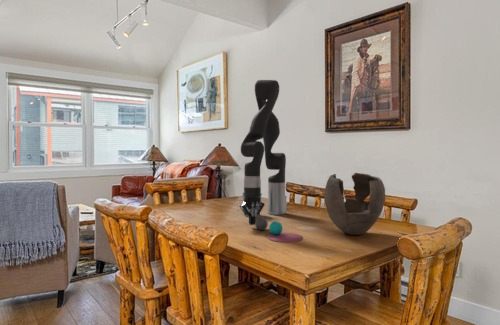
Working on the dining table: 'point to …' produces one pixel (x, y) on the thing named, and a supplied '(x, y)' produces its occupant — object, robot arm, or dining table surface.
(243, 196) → the drinking glass
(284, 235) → the plum mark
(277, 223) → the teal ball
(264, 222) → the gray ball
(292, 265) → the dining table surface
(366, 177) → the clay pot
